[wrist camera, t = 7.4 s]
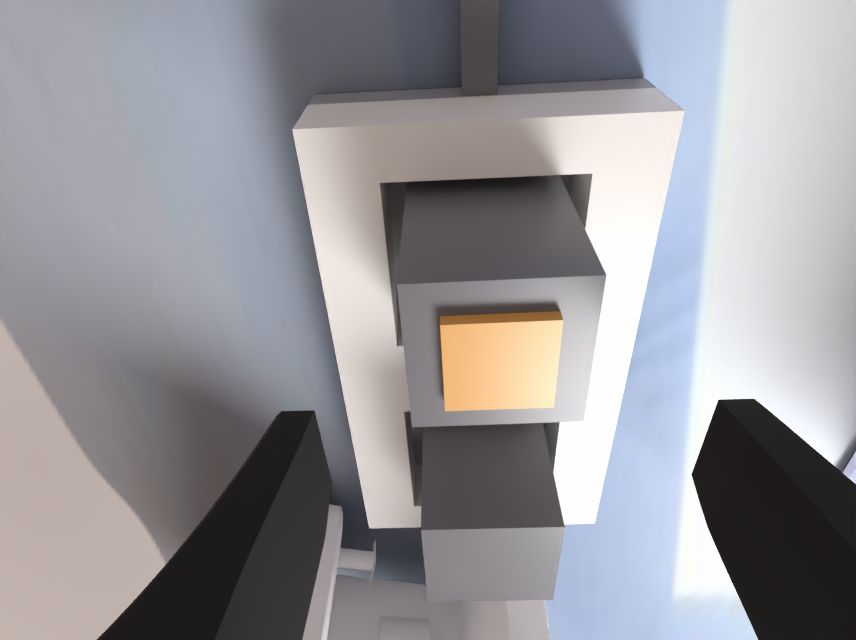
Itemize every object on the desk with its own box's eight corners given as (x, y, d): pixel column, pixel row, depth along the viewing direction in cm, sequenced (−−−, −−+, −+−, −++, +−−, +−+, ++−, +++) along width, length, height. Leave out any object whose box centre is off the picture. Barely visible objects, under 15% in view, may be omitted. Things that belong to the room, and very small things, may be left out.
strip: (265, -202, 12) (113, -299, 6) (697, -231, 12) (950, -362, 6) (375, 468, 25) (358, 632, 19) (578, 463, 25) (621, 628, 19)
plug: (552, 160, 15) (610, 283, 10) (543, 282, 18) (586, 431, 13) (407, 167, 16) (395, 292, 11) (417, 287, 18) (411, 436, 13)
